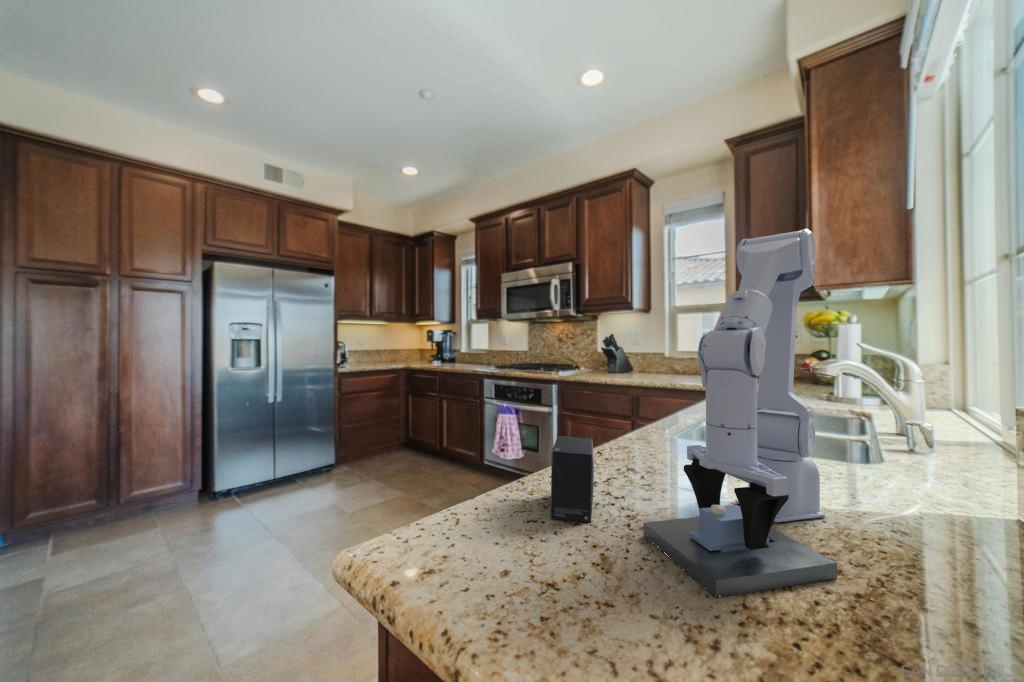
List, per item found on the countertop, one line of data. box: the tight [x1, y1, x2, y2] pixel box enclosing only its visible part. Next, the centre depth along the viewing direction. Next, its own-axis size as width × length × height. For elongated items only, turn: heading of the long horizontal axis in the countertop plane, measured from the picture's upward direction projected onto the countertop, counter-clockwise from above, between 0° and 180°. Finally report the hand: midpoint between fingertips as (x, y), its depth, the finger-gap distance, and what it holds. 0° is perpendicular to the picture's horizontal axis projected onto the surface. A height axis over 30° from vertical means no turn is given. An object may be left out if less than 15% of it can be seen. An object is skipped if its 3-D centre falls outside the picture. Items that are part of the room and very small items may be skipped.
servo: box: [689, 504, 769, 554], centre depth 51 cm, size 9×4×6 cm, turn 103°
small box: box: [549, 435, 595, 523], centre depth 65 cm, size 11×6×10 cm, turn 168°
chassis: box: [642, 516, 838, 598], centre depth 51 cm, size 16×14×2 cm
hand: (730, 532), depth 51 cm, fingers open, 7 cm apart
